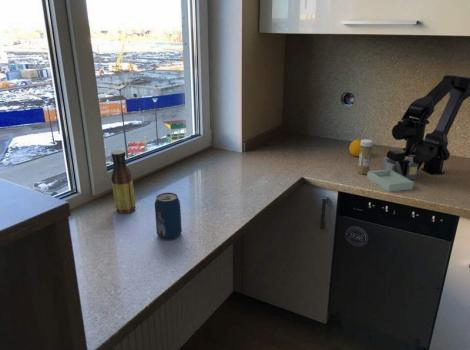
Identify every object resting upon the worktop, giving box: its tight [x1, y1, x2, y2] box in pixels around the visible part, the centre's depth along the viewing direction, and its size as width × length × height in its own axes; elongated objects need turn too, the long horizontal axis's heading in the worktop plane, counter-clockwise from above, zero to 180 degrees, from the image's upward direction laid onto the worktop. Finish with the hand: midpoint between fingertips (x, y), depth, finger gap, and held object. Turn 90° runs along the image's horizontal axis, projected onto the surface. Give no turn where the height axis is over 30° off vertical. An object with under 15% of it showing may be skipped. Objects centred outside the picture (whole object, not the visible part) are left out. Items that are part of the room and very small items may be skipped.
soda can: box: [154, 192, 182, 241], centre depth 111 cm, size 7×7×12 cm
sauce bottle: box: [110, 149, 136, 215], centre depth 125 cm, size 6×6×20 cm
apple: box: [348, 139, 362, 157], centre depth 181 cm, size 8×8×8 cm
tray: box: [366, 169, 415, 193], centre depth 149 cm, size 10×14×3 cm
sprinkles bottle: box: [357, 138, 374, 175], centre depth 159 cm, size 5×5×13 cm
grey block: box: [394, 158, 419, 180], centre depth 156 cm, size 4×8×6 cm, turn 14°
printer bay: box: [381, 156, 396, 172], centre depth 163 cm, size 7×6×5 cm
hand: (409, 175), depth 155 cm, fingers closed on grey block, 4 cm apart
